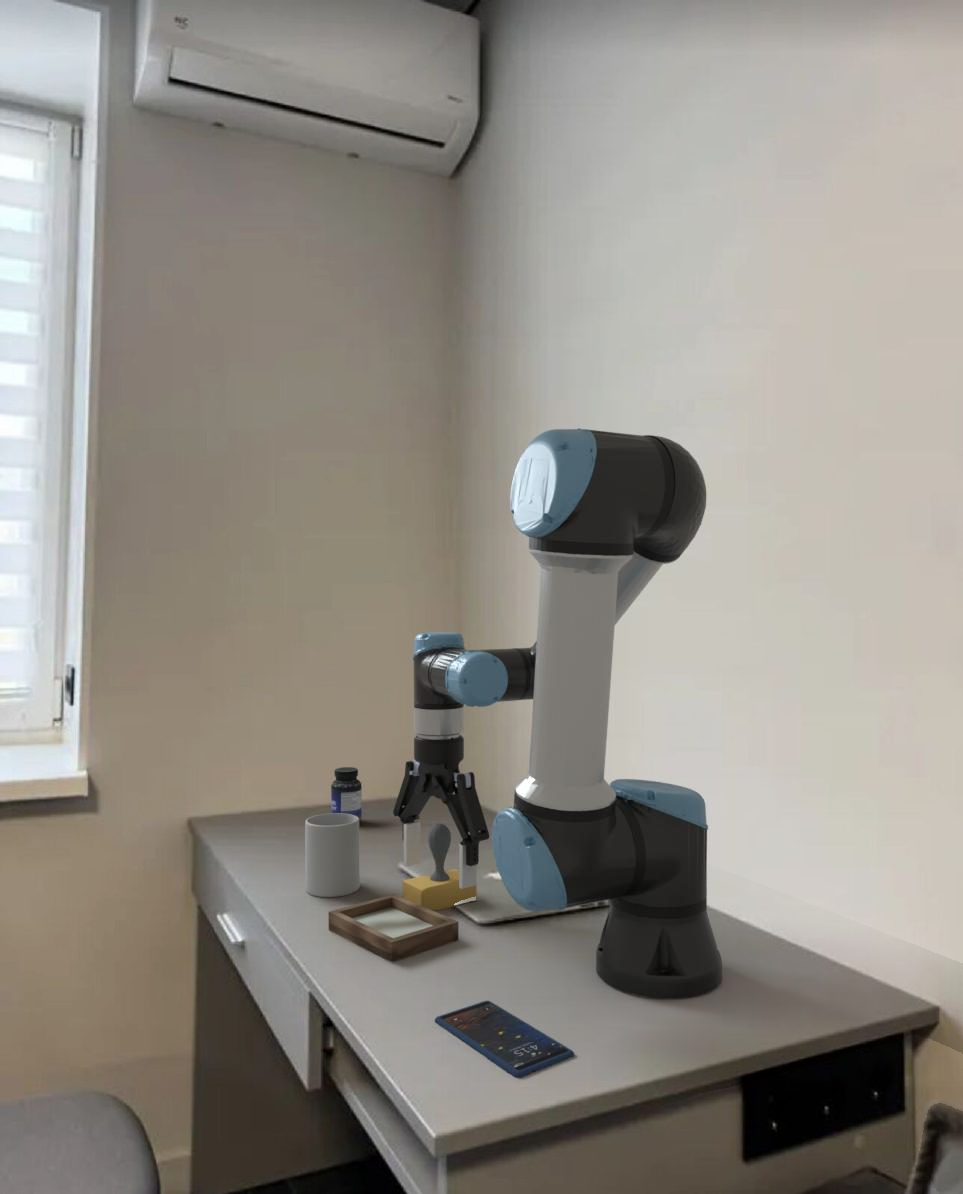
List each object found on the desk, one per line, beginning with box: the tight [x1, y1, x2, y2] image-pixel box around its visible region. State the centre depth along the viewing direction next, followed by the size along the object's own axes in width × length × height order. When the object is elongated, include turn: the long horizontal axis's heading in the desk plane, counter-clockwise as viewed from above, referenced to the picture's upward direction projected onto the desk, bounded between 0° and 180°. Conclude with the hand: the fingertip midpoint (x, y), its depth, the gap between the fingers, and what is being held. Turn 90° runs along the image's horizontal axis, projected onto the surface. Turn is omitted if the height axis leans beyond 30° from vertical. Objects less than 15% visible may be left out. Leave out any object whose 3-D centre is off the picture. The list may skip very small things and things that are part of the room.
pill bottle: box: [330, 766, 363, 825], centre depth 186 cm, size 6×6×11 cm
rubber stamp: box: [402, 823, 478, 912], centre depth 139 cm, size 10×6×12 cm, turn 126°
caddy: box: [328, 893, 460, 963], centre depth 126 cm, size 15×11×2 cm
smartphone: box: [434, 1000, 575, 1079], centre depth 97 cm, size 8×1×15 cm
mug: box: [304, 813, 361, 898], centre depth 147 cm, size 12×8×11 cm
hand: (439, 875), depth 139 cm, fingers open, 13 cm apart
